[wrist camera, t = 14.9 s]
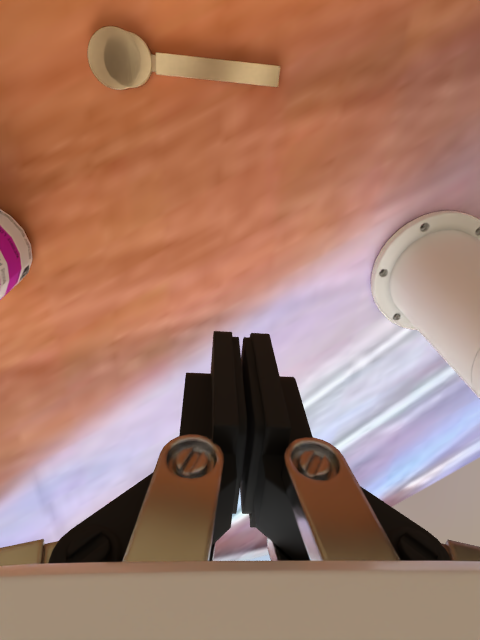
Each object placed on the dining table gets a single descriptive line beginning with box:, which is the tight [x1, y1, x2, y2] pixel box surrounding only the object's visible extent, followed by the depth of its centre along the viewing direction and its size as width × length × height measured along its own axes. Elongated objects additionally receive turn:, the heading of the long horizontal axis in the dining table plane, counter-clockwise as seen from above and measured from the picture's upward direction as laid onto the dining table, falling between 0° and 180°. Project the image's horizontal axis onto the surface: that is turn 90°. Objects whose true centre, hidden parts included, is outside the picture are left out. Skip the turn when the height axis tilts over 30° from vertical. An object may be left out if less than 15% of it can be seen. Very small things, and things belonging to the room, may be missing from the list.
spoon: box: [87, 26, 280, 90], centre depth 31 cm, size 14×4×1 cm, turn 85°
